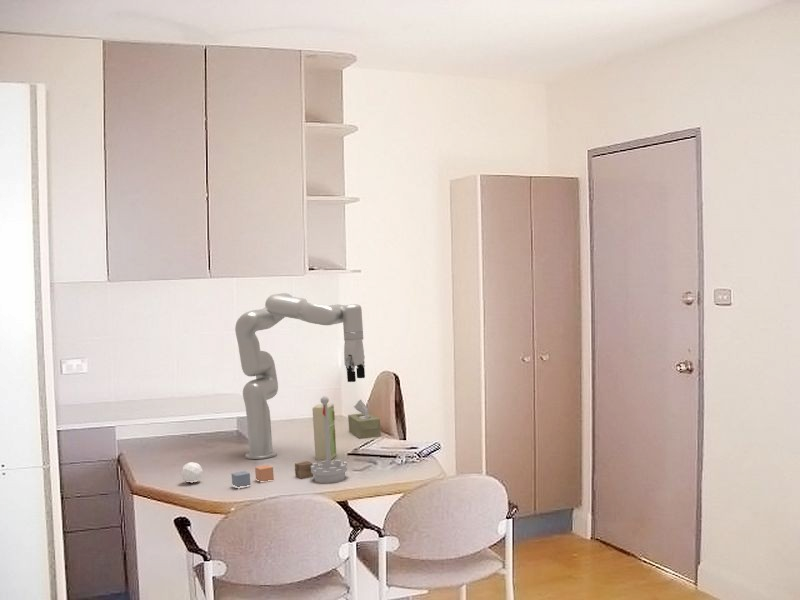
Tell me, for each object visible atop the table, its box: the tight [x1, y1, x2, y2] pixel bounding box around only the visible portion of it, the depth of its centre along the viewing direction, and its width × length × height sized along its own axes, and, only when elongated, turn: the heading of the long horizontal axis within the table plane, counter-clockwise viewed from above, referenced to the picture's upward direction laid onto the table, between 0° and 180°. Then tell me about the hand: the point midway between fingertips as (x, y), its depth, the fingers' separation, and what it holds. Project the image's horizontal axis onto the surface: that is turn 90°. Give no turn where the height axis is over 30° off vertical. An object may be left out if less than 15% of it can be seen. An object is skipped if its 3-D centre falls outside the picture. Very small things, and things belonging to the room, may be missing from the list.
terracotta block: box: [254, 464, 275, 481], centre depth 329 cm, size 5×5×5 cm
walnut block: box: [294, 460, 314, 480], centre depth 331 cm, size 5×5×5 cm
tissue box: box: [347, 399, 382, 440], centre depth 403 cm, size 19×10×16 cm, turn 18°
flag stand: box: [311, 395, 348, 484], centre depth 324 cm, size 13×13×30 cm
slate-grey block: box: [230, 470, 252, 487], centre depth 321 cm, size 5×5×5 cm
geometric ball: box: [180, 461, 204, 482], centre depth 331 cm, size 8×8×8 cm
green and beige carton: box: [312, 403, 337, 461], centre depth 359 cm, size 8×7×21 cm
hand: (356, 379), depth 353 cm, fingers open, 9 cm apart
